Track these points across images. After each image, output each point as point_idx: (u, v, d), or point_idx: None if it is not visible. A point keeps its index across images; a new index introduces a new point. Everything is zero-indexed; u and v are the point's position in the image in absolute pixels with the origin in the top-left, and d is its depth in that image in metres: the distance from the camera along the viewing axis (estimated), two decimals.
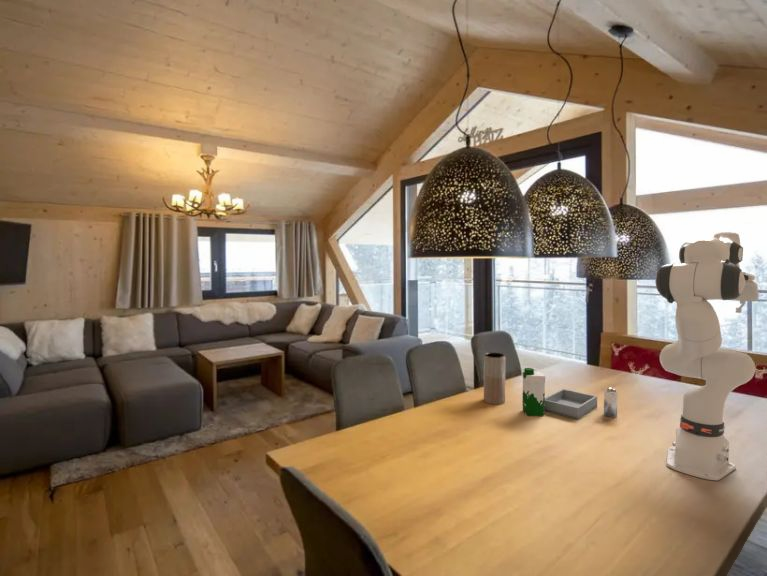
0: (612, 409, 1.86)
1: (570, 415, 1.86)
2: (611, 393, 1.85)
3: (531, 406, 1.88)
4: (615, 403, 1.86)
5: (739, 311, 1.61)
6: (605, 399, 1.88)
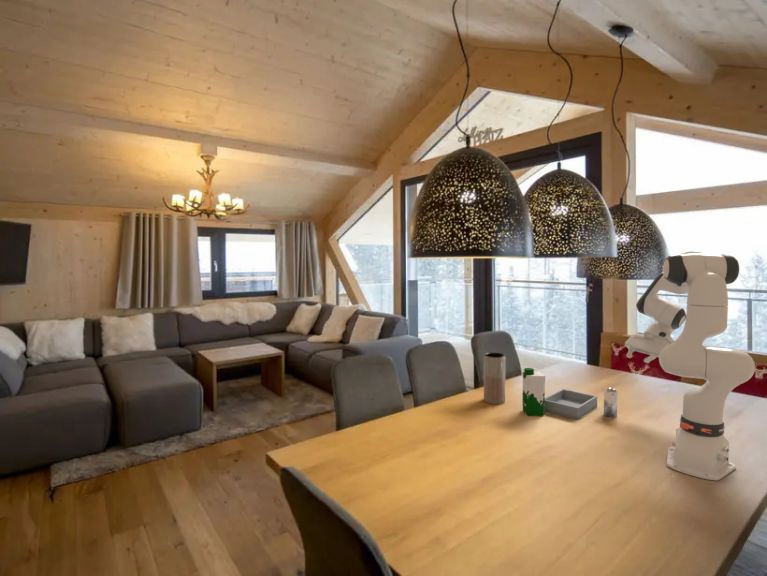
0: (612, 409, 1.86)
1: (570, 415, 1.86)
2: (611, 393, 1.85)
3: (531, 406, 1.88)
4: (615, 403, 1.86)
5: (646, 360, 1.85)
6: (605, 399, 1.88)
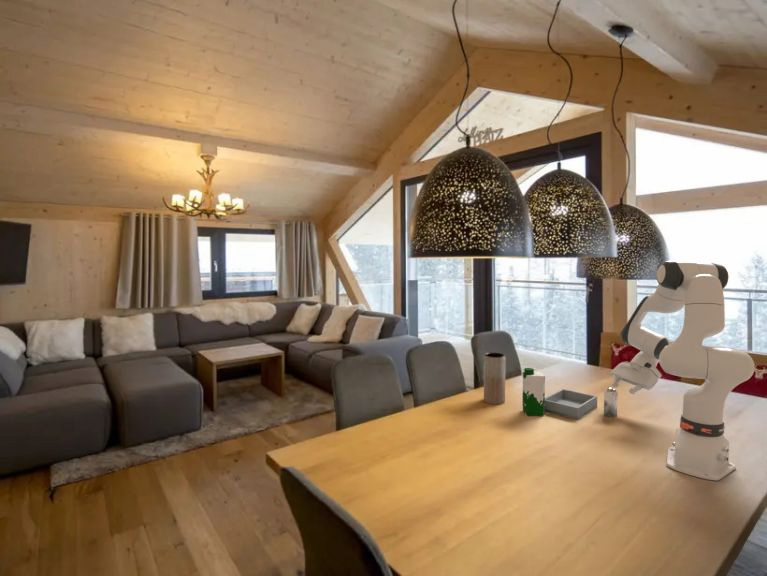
0: (612, 409, 1.86)
1: (570, 415, 1.86)
2: (611, 393, 1.85)
3: (531, 406, 1.88)
4: (615, 403, 1.86)
5: (631, 391, 1.84)
6: (605, 399, 1.88)
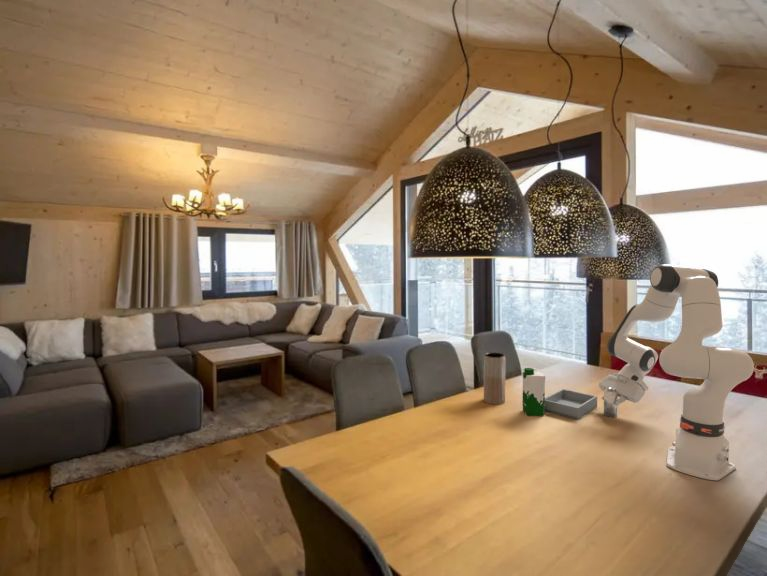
0: (612, 409, 1.86)
1: (570, 415, 1.86)
2: (611, 393, 1.85)
3: (531, 406, 1.88)
4: None
5: (615, 402, 1.84)
6: (605, 399, 1.88)
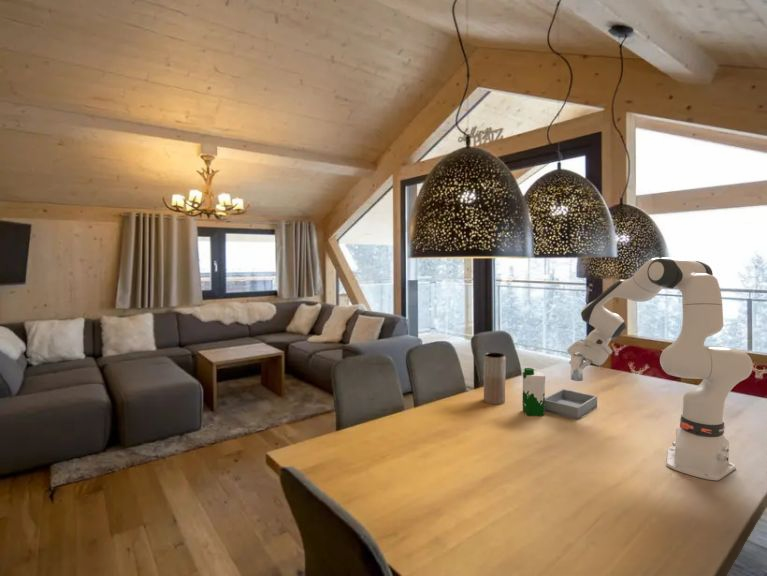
0: (578, 372, 1.93)
1: (570, 415, 1.86)
2: (577, 357, 1.92)
3: (531, 406, 1.88)
4: None
5: (580, 366, 1.91)
6: (572, 363, 1.95)
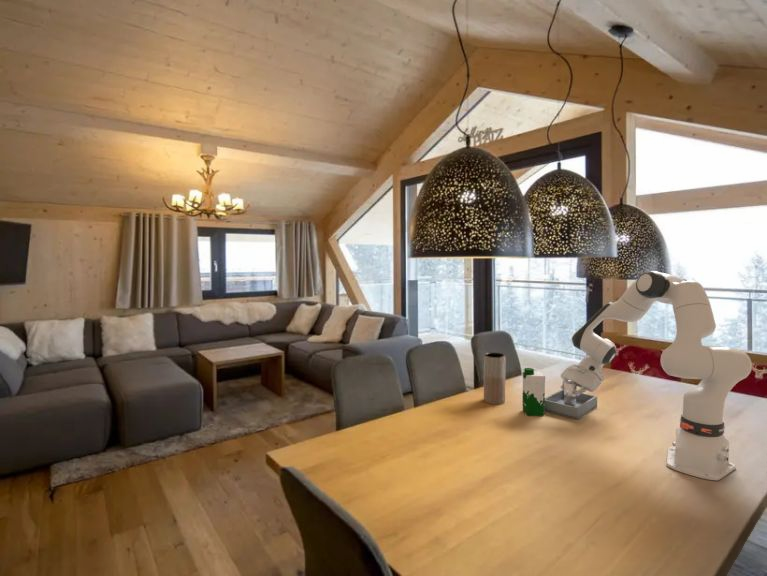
0: (571, 400, 1.94)
1: (570, 415, 1.86)
2: (570, 385, 1.94)
3: (531, 406, 1.88)
4: (574, 394, 1.94)
5: (576, 393, 1.92)
6: (565, 391, 1.96)
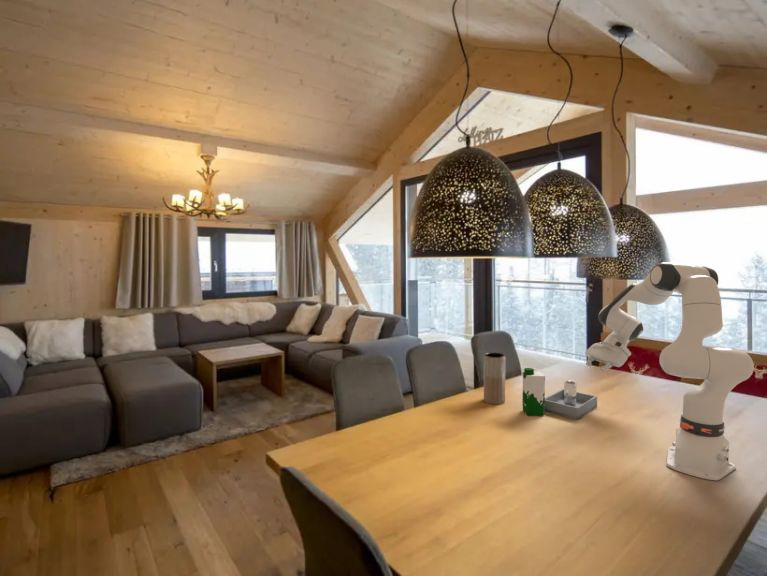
0: (571, 400, 1.94)
1: (570, 415, 1.86)
2: (570, 385, 1.94)
3: (531, 406, 1.88)
4: (574, 394, 1.94)
5: (602, 368, 1.94)
6: (565, 391, 1.96)
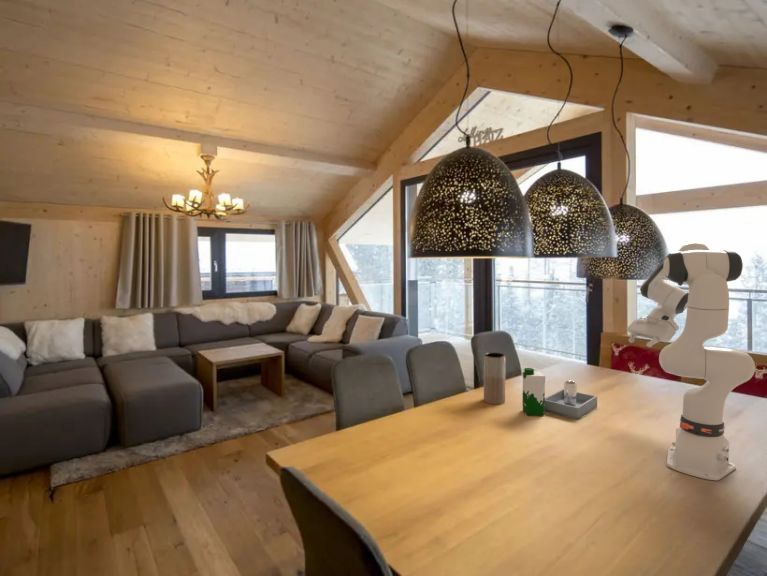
0: (571, 400, 1.94)
1: (570, 415, 1.86)
2: (570, 385, 1.94)
3: (531, 406, 1.88)
4: (574, 394, 1.94)
5: (648, 343, 1.82)
6: (565, 391, 1.96)
